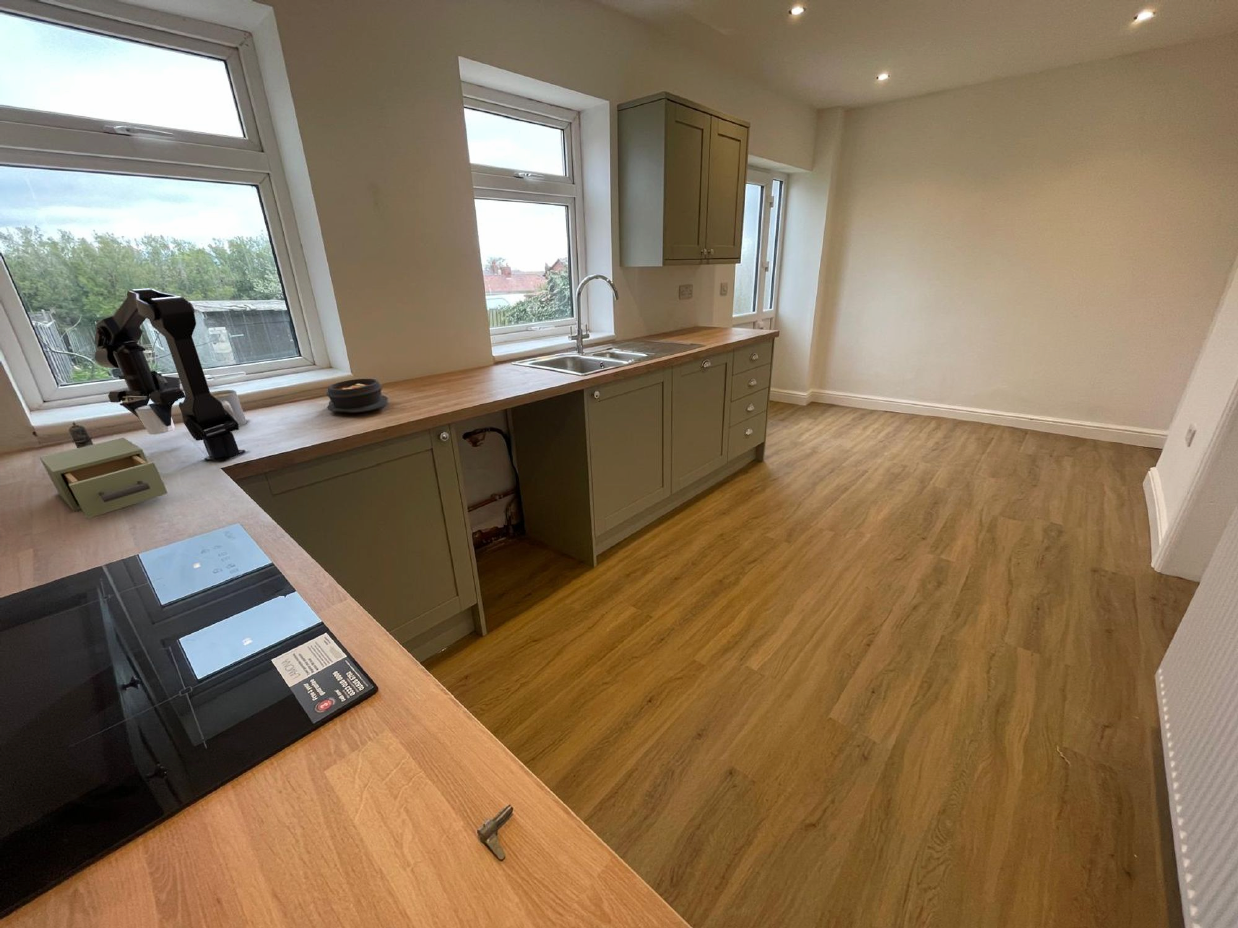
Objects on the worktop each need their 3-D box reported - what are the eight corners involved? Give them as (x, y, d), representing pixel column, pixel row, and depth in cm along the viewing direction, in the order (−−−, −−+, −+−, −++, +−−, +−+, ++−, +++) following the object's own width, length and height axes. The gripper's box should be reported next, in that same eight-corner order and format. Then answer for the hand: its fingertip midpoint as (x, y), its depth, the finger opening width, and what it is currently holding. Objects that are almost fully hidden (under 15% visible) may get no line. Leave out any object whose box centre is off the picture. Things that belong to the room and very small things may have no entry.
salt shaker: (91, 471, 125) (68, 426, 121) (73, 470, 126) (50, 425, 122) (117, 462, 131) (96, 418, 126) (99, 461, 132) (78, 418, 127)
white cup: (142, 436, 134) (130, 411, 131) (150, 429, 139) (139, 405, 136) (174, 431, 136) (163, 407, 134) (180, 425, 142) (170, 401, 139)
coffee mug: (207, 425, 158) (195, 394, 154) (245, 418, 163) (234, 388, 160) (209, 435, 148) (196, 402, 144) (249, 427, 154) (237, 395, 150)
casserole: (403, 407, 166) (398, 383, 163) (345, 422, 154) (338, 396, 151) (371, 396, 182) (366, 373, 179) (316, 408, 170) (309, 384, 166)
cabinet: (158, 485, 115) (142, 449, 112) (74, 511, 105) (52, 471, 101) (139, 471, 124) (123, 437, 120) (59, 494, 113) (39, 457, 110)
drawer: (175, 498, 106) (161, 467, 103) (92, 524, 97) (74, 491, 94) (148, 479, 117) (134, 450, 114) (71, 501, 107) (54, 470, 104)
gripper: (193, 362, 136) (214, 417, 142) (140, 362, 140) (163, 415, 146) (150, 371, 126) (175, 430, 132) (95, 371, 130) (121, 428, 136)
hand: (159, 425), depth 137 cm, fingers closed on white cup, 6 cm apart
